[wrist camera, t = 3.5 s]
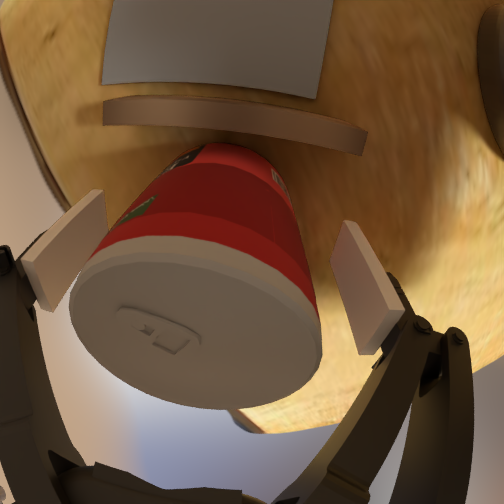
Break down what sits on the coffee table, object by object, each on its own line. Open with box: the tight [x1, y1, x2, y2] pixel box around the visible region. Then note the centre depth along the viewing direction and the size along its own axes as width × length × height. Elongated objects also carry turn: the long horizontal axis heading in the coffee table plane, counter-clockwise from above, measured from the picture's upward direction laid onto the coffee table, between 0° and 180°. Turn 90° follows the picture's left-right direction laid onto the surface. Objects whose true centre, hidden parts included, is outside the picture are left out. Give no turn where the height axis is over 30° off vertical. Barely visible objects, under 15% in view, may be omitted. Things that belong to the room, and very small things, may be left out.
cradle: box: [103, 95, 368, 156], centre depth 15 cm, size 12×12×4 cm
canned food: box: [69, 143, 322, 410], centre depth 12 cm, size 8×8×11 cm
